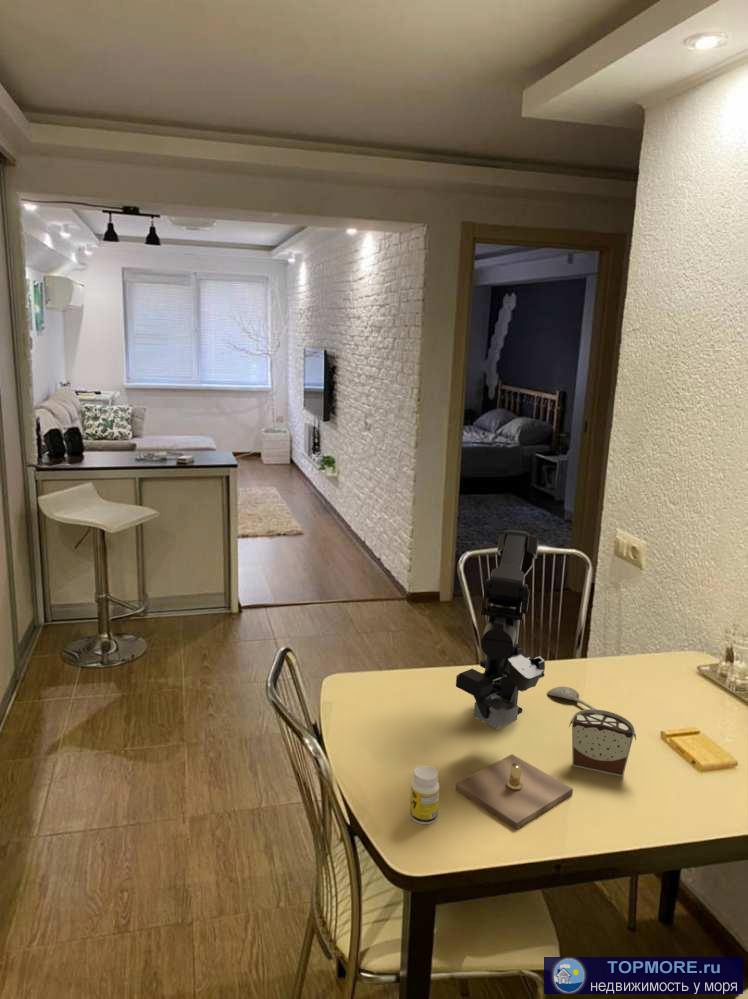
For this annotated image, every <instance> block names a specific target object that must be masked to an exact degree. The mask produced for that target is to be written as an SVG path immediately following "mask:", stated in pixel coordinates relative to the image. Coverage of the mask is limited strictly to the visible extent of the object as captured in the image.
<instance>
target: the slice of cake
mask: <svg viewBox="0 0 748 999" xmlns="http://www.w3.org/2000/svg"><path fill="white" fill-rule="evenodd" d="M570 726H571V730H572V731H571V732H572V733H571V738H572V739H571V744H572V745H571V746H572V749H571V750H572V754H571V755H572V756H571V757H572V763H571V764H572V767H576V768H581V769H586V770H591V771H596V772H600V773H604V774H605V773H606V774H608V775H614V776H617V777H618V776H619V777H624V774H625V770H626V767H627V764H628V760H629V759H628V758H629V755H630V752H631V748H632V743H633V740H635V741H637V735H636V734H637V733H636V730H635V726H634V725H633V723H632V722H630V721H629V719H627V718H626V717H624V716H622V715H619V714H618V713H616V712H613V711H612V712H611V711H608V710H603V709H597V708H595V709H590V708H587V709H582V710H579V711H577V712H575V713H574V714H573V715H572V717H571V719H570V722H569V725H568V728H570ZM633 738H634V739H633Z"/></svg>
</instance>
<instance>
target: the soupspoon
mask: <svg viewBox="0 0 748 999" xmlns="http://www.w3.org/2000/svg"><path fill="white" fill-rule="evenodd" d="M546 695H548V696H553V697H557V698H558V697H559V698H561V699H562V698H563V699H565V700H566V699H567V700H571V701H575V702H577V703H578V704H581V705H583V706H585V707H586V708H587V709H596V708H595V707H593V706H592V705H590V704H589V703H586V702H585V701H583V700H581V699H580V693H579V692H578V691H577V690H576V689H574V688H573V687H568V686H556V687H553V688H551V689H550V690H548V691H547V692H546Z"/></svg>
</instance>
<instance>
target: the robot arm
mask: <svg viewBox="0 0 748 999" xmlns="http://www.w3.org/2000/svg"><path fill="white" fill-rule="evenodd" d="M538 549H539V539H538V538H536V537H533V536H532V535H530V532H527V531H524V530H522V531H521V530H515V529H509V530H505V532H504V533H502V534H499V536H498V544H497V554H498V555H499V556H500V560H499V562H500V563H499V566H497V567H495V568H493V569H492V570H491V573H490V576H489V579H488V578H487V579H486V580H485V585H484V592H483V593H484V594H483V599H482V606H481V613H480V614H481V616H488V619H487V624H486V626H485V628H484V631H483V634H482V637H481V640H480V645H481V646H480V647H481V651H482V652H483V654H485V657H484V659H483V660H480V662H479V666H480V667H481V668H483V669H484V672H480V671H478V670H477V669H474V668H470V669H468V670H465V671H462V672H460V673H458V674H457V675H456V677H455V678H456V679H455V687H456V688H458V689H459V690H462V691H464V692H466V693H468V694H469V695H471V696H473V697H474V700H475V702H476V703H477V705H478V708H479V710H480V712H481V715H482V717H483V718H485V719H487V718H488V715H489V711H490V704H491V698H492V696H493V695H494V694H496V695H498V696H500V697H502V698H504V699H506V700H508V701H510V702H512V703H514V704H516V705H518V698H519V691H520V692H525V691H527V690H529V689H531V688H535V687H536V686H537V683H538V682H539V680H540V679H541V678H544V677H545V669H546V660H545V659H544V658H542V657H541V656H540V655H539V656H537V657H535V656H533V655H530V654H527V653H525V652H523V648H522V645H520V644H518V643H519V642H518V641H519V632H520V631H519V630H520V624H521V623H520V622H521V621H523V619H524V615H528V608H529V602H530V601H529V600H530V599H529V598H530V591H531V590H530V589H529V588H528V587H529V586H528V584H527V583H525V577H526V576H527V575H528V573H529V572H530V571H531V569H532V568H533V566H534V560H536V559H537V558H538ZM487 604H489V605H487ZM492 605H493V606H492ZM522 712H523V708H522V707H520V706H518V714H520V713H522Z"/></svg>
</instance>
